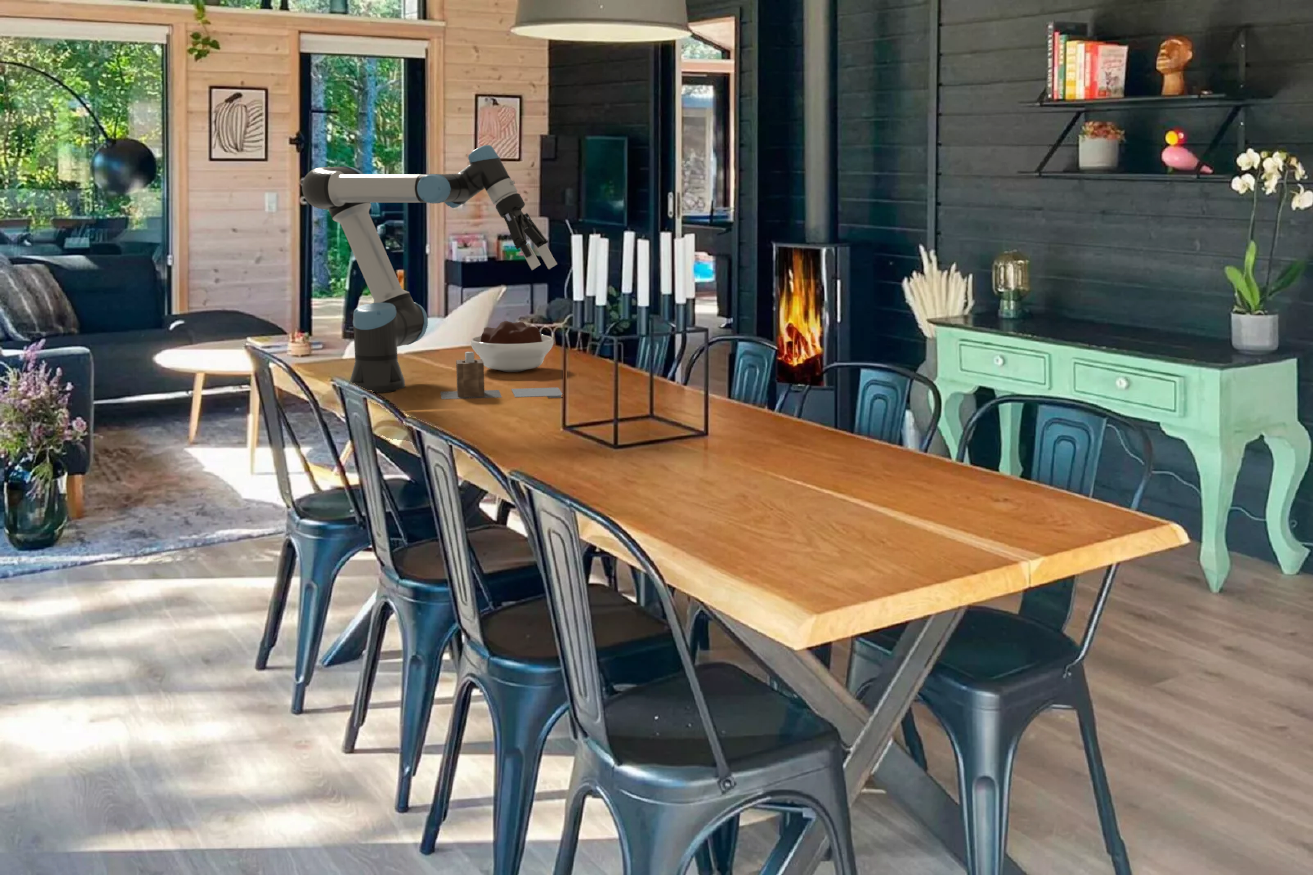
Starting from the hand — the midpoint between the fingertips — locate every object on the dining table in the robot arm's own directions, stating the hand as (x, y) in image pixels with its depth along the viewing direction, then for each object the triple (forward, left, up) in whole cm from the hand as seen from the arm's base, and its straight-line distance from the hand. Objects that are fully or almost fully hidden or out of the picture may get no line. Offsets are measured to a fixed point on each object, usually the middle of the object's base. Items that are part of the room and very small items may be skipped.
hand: (544, 267), depth 384 cm
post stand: (-21, -5, -34) cm, 40 cm away
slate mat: (-3, -5, -34) cm, 35 cm away
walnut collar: (-21, -5, -34) cm, 40 cm away
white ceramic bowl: (-6, +40, -34) cm, 53 cm away
